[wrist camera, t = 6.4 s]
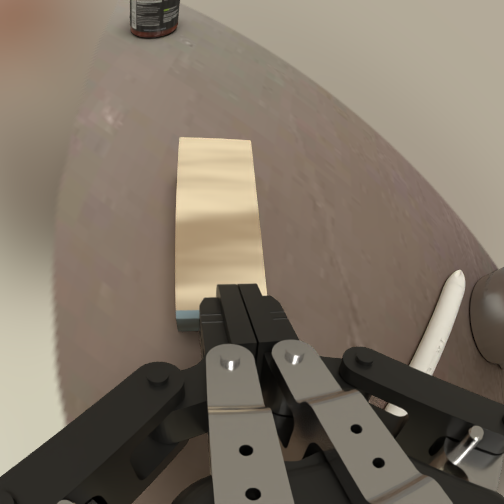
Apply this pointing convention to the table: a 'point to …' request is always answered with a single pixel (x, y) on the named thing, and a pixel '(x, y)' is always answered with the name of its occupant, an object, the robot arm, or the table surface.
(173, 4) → the supplement bottle
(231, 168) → the beech block
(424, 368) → the marker
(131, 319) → the table surface
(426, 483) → the robot arm
